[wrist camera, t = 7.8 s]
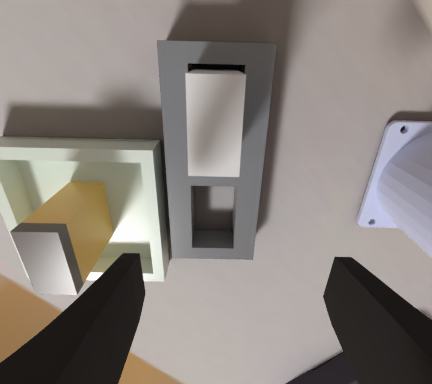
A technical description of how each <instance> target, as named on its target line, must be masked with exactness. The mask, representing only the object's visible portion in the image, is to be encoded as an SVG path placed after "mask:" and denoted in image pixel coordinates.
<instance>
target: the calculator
mask: <svg viewBox="0 0 432 384" xmlns="http://www.w3.org/2000/svg"><path fill="white" fill-rule="evenodd" d="M286 384H358V383H357V380H356V378H355V376H354V374H353V371H352V369H351V367H350V365H349V362H348V360H347V358H346V356H345V353H344V352H342V353H341V354H339V355H338V356H336V357H335V358H333V359H331V360H330V361H328V362H327V363H325V364H324V365H322V366H321V367H319V368H317V369H316V370H309V371H307V372H306V373H304V374H302V375H300V376H299V377H297V378H295V379H293V380H291V381H290V382H288V383H286Z"/></svg>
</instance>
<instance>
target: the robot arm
mask: <svg viewBox="0 0 432 384" xmlns="http://www.w3.org/2000/svg"><path fill="white" fill-rule="evenodd" d="M403 126H405V129H404V130H403V131H402V132H400V129H401V128H402V127H403ZM371 219H373V220H372V221H371V222H369V221H370V220H371ZM357 223H358V225H359V226H361V227H382V228H400V229H401V230H402V231H403V232H404V233H405V234H406V235H407V236H409V237H410V238H411V239H412V240H413V241H414V242H415V243H416V244H417V245H418V246H419V247H420V248H421V249H422V250H424V251H425V252H426V253H427V254H428V255H429V256H430V257H431V258H432V121H403V120H395V121H392V122H390V123H389V124H388V125H387V126H386V128H385V132H384V135H383V138H382V141H381V144H380V147H379V151H378V154H377V157H376V160H375V163H374V166H373V169H372V173H371V176H370V179H369V182H368V185H367V188H366V192H365V195H364V198H363V201H362V204H361V207H360V211H359V214H358V217H357ZM144 297H145V287H144V280H143V273H142V266H141V259H140V253H123V254H122V255H120V256H119V257H118V258H117V259H116V260H115V261H114V263H113V264H112V265H111V266H110V267H109V268H108V269H107V270H106V271H105V272H104V273H103V274H102V275H101V276H100V277H99V278H98V279H97V280H96V281H95V282H94V283H93V284H92V285H91V286H90V287H89V288H88V289H87V290H86V291H85V292H84V293H83V294H82V295H81V296H80V297H79V298H77V299H76V300H75V301H74V302H73V303H72V304H71V305H70V306H69V307H68V308H67V309H65V310H64V311H63V312H62V313H61V314H60V315H59V316H58V317H57V318H56V319H54V320H53V321H52V322H51V323H50V324H49V325H48V326H46V327H45V328H44V329H43V330H42V331H40V332H39V333H38V334H37V335H36V336H34V337H33V338H32V339H31V340H29V341H28V342H27V343H26V344H24V345H23V346H22V347H21V348H19V349H18V350H17V351H16V352H14V353H13V354H12V355H10V356H9V357H8V358H6V359H5V360H4V361H2V362H1V363H0V384H118V383H119V379H120V377H121V374H122V371H123V368H124V365H125V362H126V359H127V356H128V353H129V350H130V347H131V344H132V341H133V338H134V335H135V332H136V329H137V326H138V323H139V320H140V316H141V311H142V307H143V302H144ZM323 297H324V301H325V304H326V308H327V311H328V314H329V317H330V321H331V324H332V326H333V328H334V331H335V333H336V335H337V338H338V340H339V342H340V344H341V347H342V349H343V351H344V353H345V356H346V358H347V360H348V362H349V365H350V367H351V369H352V371H353V374H354V376H355V378H356V380H357V383H358V384H432V320H431V319H429V318H428V317H427V316H425V315H424V314H423V313H421V312H420V311H419V310H417V309H416V308H415V307H413V306H412V305H411V304H410V303H408V302H407V301H406V300H404V299H403V298H402V297H401V296H399V295H398V294H397V293H396V292H394V291H393V290H392V289H391V288H389V287H388V286H387V285H386V284H384V283H383V282H382V281H381V280H379V279H378V278H377V277H376V276H374V275H373V274H372V273H371V272H370V271H368V270H367V269H366V268H365V267H363V266H362V265H361V264H360V263H358V262H357V261H356V260H354V259H353V258H352V257H335V258H334V261H333V265H332V268H331V272H330V275H329V278H328V282H327V285H326V289H325V292H324V295H323Z"/></svg>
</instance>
